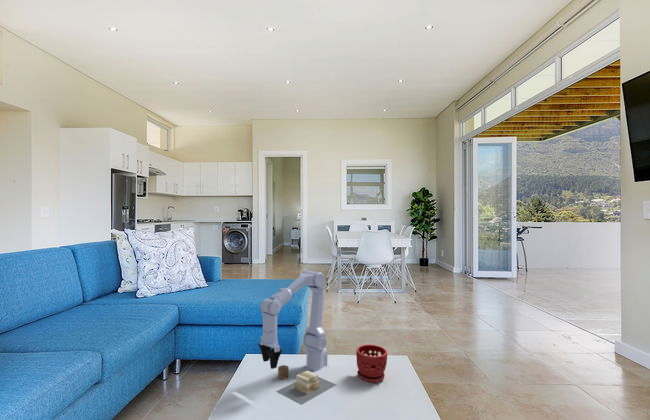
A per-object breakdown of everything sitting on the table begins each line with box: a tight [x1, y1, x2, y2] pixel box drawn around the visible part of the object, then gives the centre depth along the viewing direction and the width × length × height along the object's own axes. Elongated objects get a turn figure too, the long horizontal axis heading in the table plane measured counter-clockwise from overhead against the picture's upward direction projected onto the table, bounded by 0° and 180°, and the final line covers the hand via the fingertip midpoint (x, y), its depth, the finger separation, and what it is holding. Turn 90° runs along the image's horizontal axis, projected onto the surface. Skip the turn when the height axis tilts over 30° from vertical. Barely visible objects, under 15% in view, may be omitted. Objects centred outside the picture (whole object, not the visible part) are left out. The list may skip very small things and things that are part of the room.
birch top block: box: [296, 370, 319, 387], centre depth 133 cm, size 6×6×2 cm
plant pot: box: [355, 344, 388, 384], centre depth 144 cm, size 13×13×12 cm
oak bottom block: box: [294, 381, 320, 394], centre depth 133 cm, size 7×7×2 cm
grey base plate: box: [275, 376, 337, 405], centre depth 133 cm, size 20×14×1 cm
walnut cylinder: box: [277, 364, 290, 380], centre depth 143 cm, size 4×4×5 cm
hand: (269, 364), depth 134 cm, fingers open, 7 cm apart
